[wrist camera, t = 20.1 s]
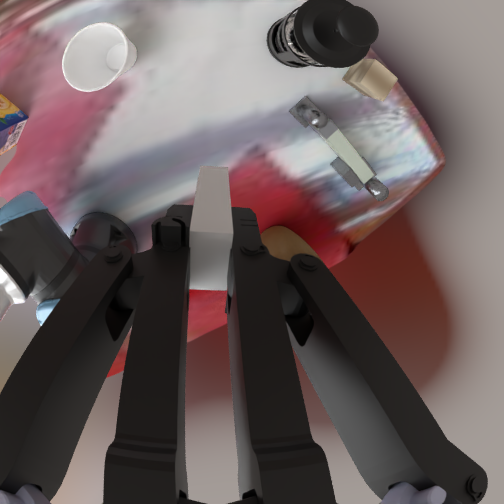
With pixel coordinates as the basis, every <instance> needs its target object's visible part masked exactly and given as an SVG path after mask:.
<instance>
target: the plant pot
mask: <svg viewBox="0 0 504 504" xmlns="http://www.w3.org/2000/svg"><path fill="white" fill-rule="evenodd" d="M260 236H261V240H262V243H263V244H264V245H265V246H267V248H268V250H269V253H270V255H272V256H274V257H277V258H279V259H283V260H287V261H290V259H291V257H292V256H294V255H295V254H299V253H306V254H310V255H313V256H315V257H317V258H319V259H320V257H319V256H318V255H317V254H316V252H315V251H314V250H313V249H312V248H311V247H310V246H309V245H308V244H307V243H306V242H305V241H304V240H303V239H302V238H301V237H299V236H298V235H297V234H296V233H294V232H293V231H291V230H290V229H288V228H286V227H284V226H272V227H270V228H268V229H266V230H265V231H264V232H263V233H262V234H261V235H260ZM320 260H321V259H320ZM321 261H322V260H321ZM322 262H323V261H322Z"/></svg>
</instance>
